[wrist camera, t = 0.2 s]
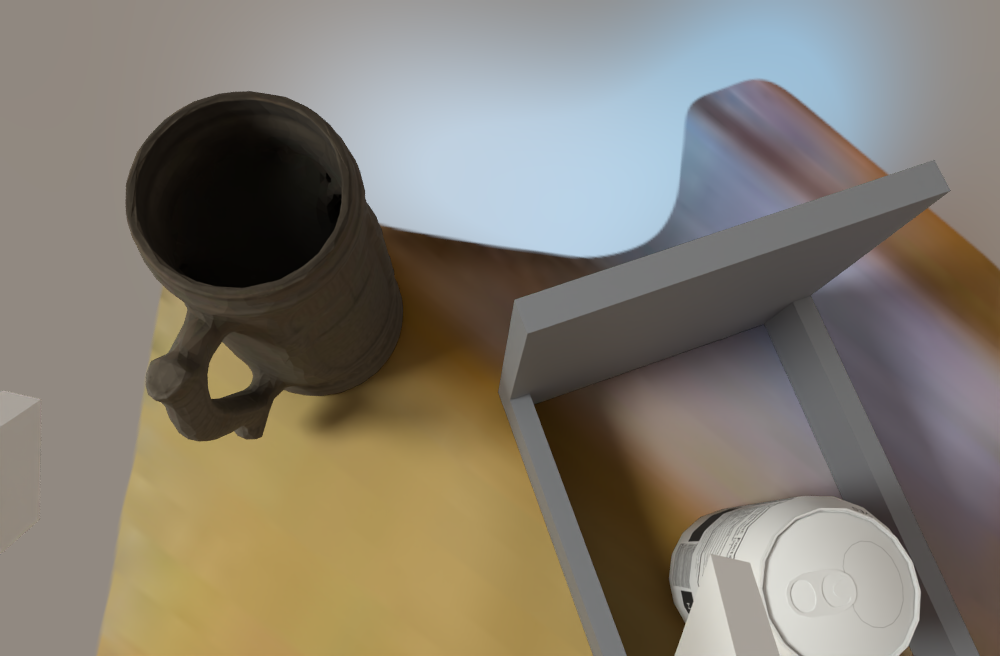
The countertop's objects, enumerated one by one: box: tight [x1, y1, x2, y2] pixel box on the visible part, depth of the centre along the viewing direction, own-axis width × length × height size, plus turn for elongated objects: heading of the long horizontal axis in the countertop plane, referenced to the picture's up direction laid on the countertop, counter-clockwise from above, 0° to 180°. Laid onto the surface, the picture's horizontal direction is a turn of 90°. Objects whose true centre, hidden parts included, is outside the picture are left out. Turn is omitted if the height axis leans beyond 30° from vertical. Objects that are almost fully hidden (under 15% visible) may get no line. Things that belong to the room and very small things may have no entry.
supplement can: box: [669, 496, 921, 656], centre depth 43 cm, size 8×8×15 cm
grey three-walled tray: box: [498, 160, 980, 656], centre depth 41 cm, size 26×19×20 cm
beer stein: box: [126, 91, 403, 441], centre depth 44 cm, size 15×11×20 cm
